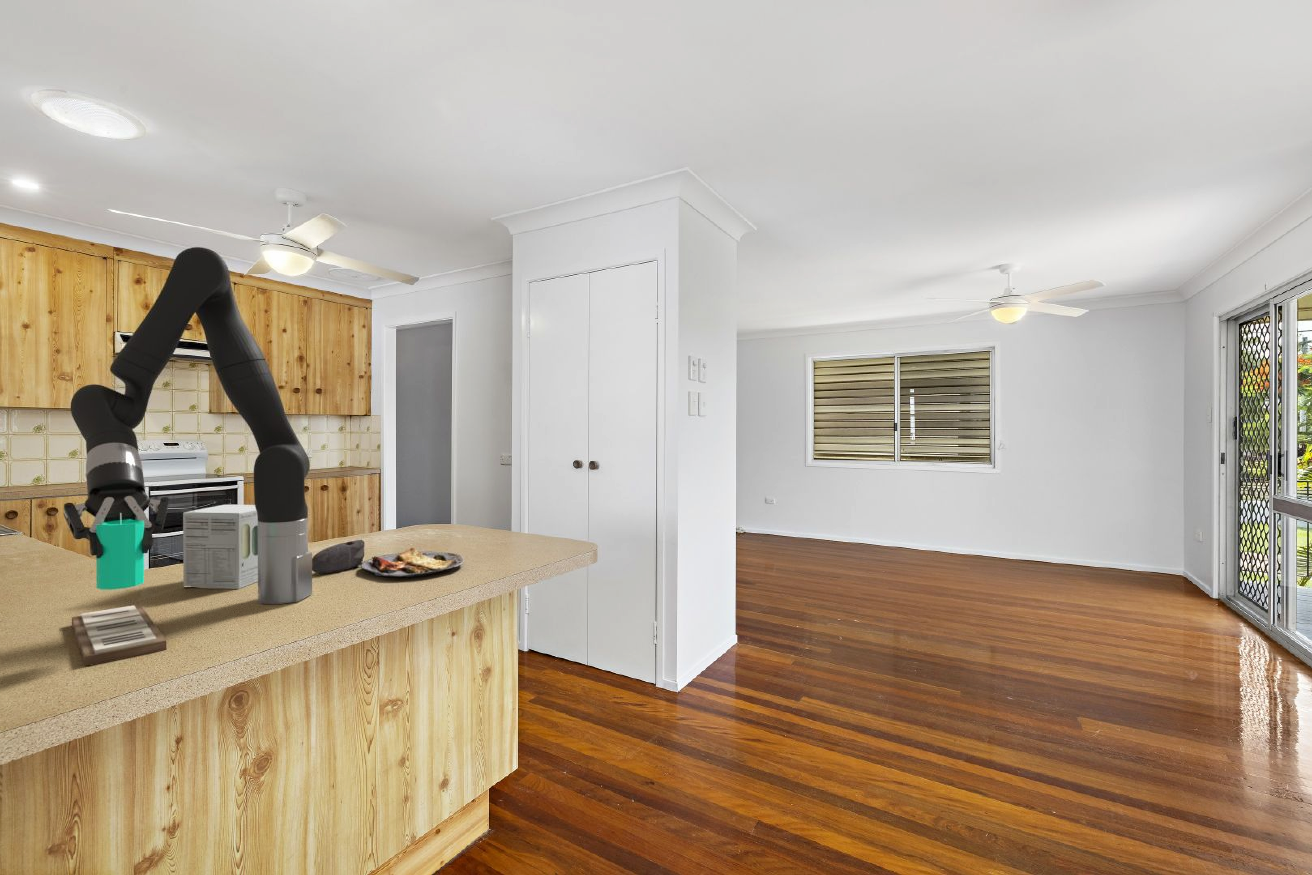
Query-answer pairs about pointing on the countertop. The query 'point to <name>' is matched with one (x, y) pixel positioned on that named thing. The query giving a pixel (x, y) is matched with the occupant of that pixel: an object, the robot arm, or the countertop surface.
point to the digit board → (116, 634)
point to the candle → (120, 554)
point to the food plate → (411, 563)
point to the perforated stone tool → (339, 557)
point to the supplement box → (220, 547)
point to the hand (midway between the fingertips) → (123, 552)
